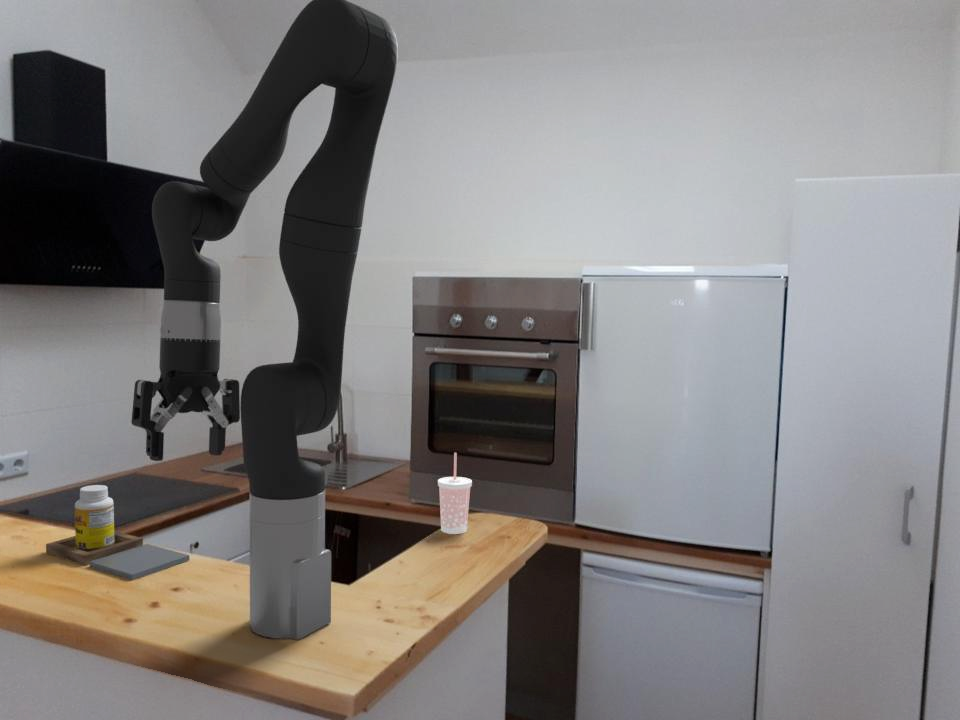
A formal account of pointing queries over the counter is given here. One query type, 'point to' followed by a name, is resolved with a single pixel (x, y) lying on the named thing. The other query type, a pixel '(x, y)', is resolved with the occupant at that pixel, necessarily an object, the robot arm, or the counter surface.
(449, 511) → the beverage cup
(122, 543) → the pocket frame
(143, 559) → the slate coaster
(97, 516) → the supplement bottle
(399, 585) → the counter surface
